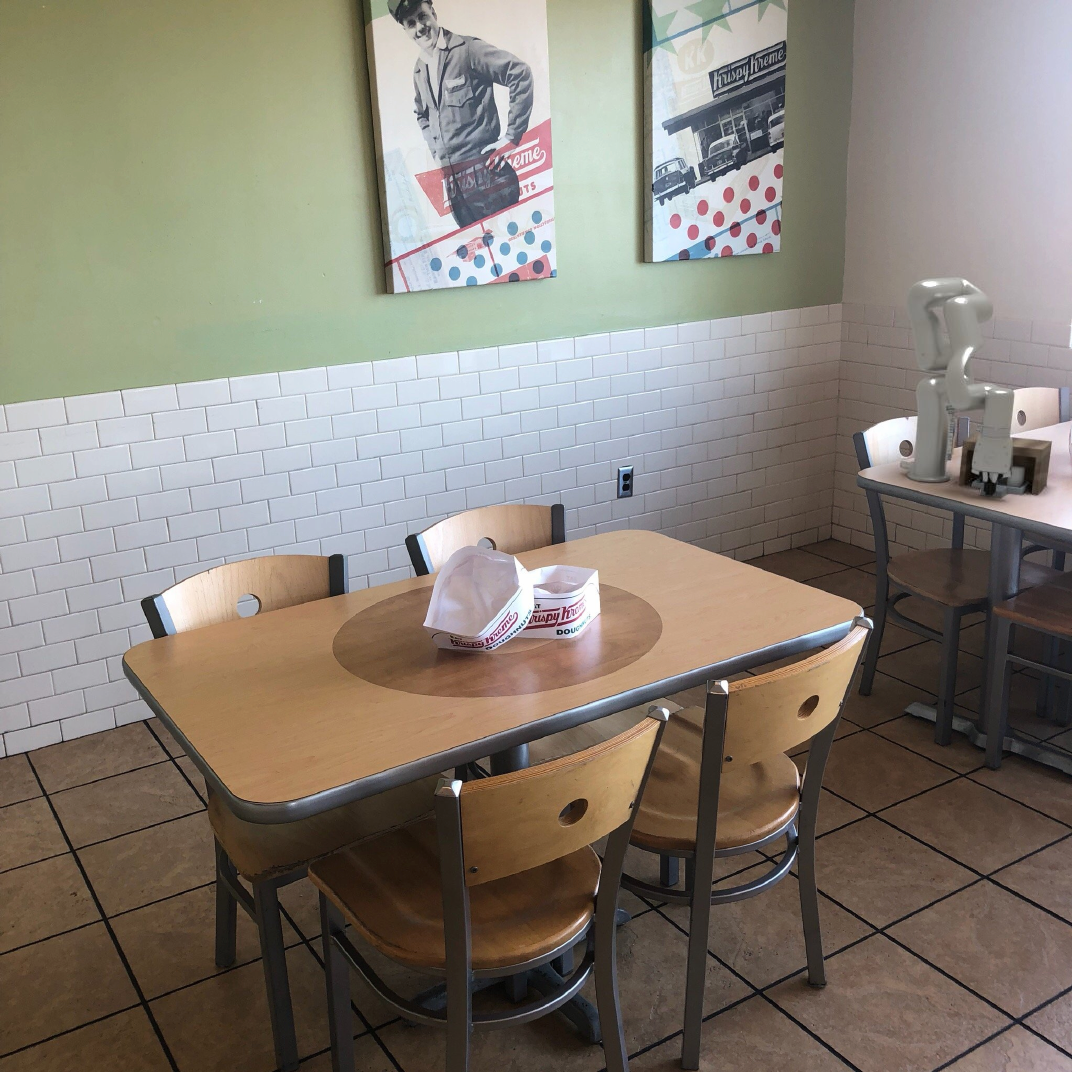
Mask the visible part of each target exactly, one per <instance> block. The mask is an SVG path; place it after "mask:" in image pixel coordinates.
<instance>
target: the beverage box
mask: <svg viewBox="0 0 1072 1072" xmlns="http://www.w3.org/2000/svg"><path fill="white" fill-rule="evenodd" d="M946 410H947V413H948V415H949V417H950V434H949V444H948V455H947V461H952V458H953V454H954V449H955V438H956V430H957V429H956V427H957V420H958V419H957V418H958V411H957V410H955V409H954V408H953V407H952V405H951V406H946Z"/></svg>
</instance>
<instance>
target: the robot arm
mask: <svg viewBox="0 0 1072 1072" xmlns="http://www.w3.org/2000/svg"><path fill="white" fill-rule="evenodd" d="M905 308H906V309H905V310H906V313H907V316H908V319H909V322H910V325H911V330H912V337H913V345H914V351H915V356H916V362H917V366H918V368H919V369H920V370H921V371H924V372H939V371H945V374H935V375H930V376H927V377H925V378H922V379H921V380H920V381H919V382H918V384H917V386H916V390H915V397H916V404H917V420H916V432H915V433H916V434H915V443H914V457H913V460H912V461H909V462H908V461H906V460H901V461H900V463H899V467H900V468H901V469H904V470H909V471H907V478H909V479H910V480H914V481H917V482H924V483H943V482H948V481H950V480H951V479H952V476H951V474H950V473H949V472H947V464H948V460H947V455H948V444H949V434H950V417H949V415H948V413H947V410H946V406H951V405H952V407H953V408H954V409H955V410H957V412H960V413H961V412H962V413H964V412H965V413H966V412H972V411H973V412H974V411H983V413H982V422H981V423H982V424H981V425H978V426H976V432H979V434H981V435H979V436H978V438H977V441H976V445H975V449H974V455H973V461H972V472H973V473H975V474H979V475H980V476H981V477H982V479H983V481H984V492H985V495H989V496H988V497H991V496H992V495H993V494H994V493H995V492H996V485H997V481H998V480H999V479H1001V478H1003V477H1010V476H1012V471H1011V469H1012V465H1013V440H1012V437H1013V436H1011V432H1012V431H1011V430H1012V421H1013V414H1014V413H1013V411H1014V403H1015V392H1014V390H1013V389H1011V388H1007V387H1000V386H998V385H996V384H994V383H991V382H983V383H982V382H981V383H975V379H974V372H973V366H972V364H973V363H972V356H975V354H977V353H979V352H981V351H982V349H983V348H984V340H983V336H982V333H981V329H980V324H984V323H987V322H989V321H990V319H991V318H992V317H993V314H994V305H993V302H992V300H991V298H990V297H989V296H988V295H987V294H986V293H985V292H984V291H983V290H982V289H980V288H979V287H976V286H975V285H974V284H972V283H971V282H970V281H969V280H967V279H965V278H962V277H958V276H955V277H939V278H936V277H935V278H927V279H923V280H920V281H917V282H915V283H914V284H913V285H911V287H910V289H908V292H907V295H906V299H905ZM934 308H943V310H942V311H943V312H942V313H943V318H944V322H945V326H946V330H947V333H948V337H945V335H944V331H943V330H944V328H943V324H942V321H941V319H940V318H939V316H938V314H936V312H935V311H934ZM990 473H994V474H993V478H992V480H991V479H990Z"/></svg>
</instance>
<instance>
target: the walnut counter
mask: <svg viewBox="0 0 1072 1072" xmlns="http://www.w3.org/2000/svg"><path fill="white" fill-rule="evenodd" d="M979 435H981V433H976V432H975V433H972V434H971V435H969V436H968V437H967V438H965V439H964V440H962V445H961V447H962V448H961V454H960V455H961V456H960V457H961V458H960V465H959V466H960V467H959V475H958V476H959V477H958V486H963V485H964V486H965V485H966V484H968V483H969V482H970V481H971V480H973V479H977V478H978V477H980V475H979V474H975V473H973V472H972V461H973V455H974V449H975V445H976V441H977V438H978V436H979ZM1011 437H1012V440H1013V465H1022V466H1025V474H1024V480H1025V481H1031V484H1030V486H1032V490H1031V495H1032V496H1038V495H1039V494H1040V493H1041V492H1042V491H1043V490H1044V489H1045V488H1046V487H1047V483H1048V478H1049V477H1048V475H1049V468H1050V460H1051V459H1050V458H1051V451H1052V443H1053V441H1052V440H1051V441H1050V440H1044V439H1043V440H1042V439H1033V438H1023V437H1013V436H1011ZM1003 478H1008V477H1003ZM969 480H970V481H969ZM967 482H968V483H967ZM1044 487H1045V488H1044Z"/></svg>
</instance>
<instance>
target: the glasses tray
mask: <svg viewBox="0 0 1072 1072" xmlns="http://www.w3.org/2000/svg"><path fill="white" fill-rule="evenodd" d="M1011 471H1012V476H1010V477H1008V478H1001V479H999V480H998V481H997V485H996V492H995V493H994V494H993V495H992V496H989V495H985V492H984V481H983V479H982V477H981V476H980V477H978V478H975V480H974V481H972V483H971V489H972V488H975V489H974V490H980V489H981V490H980V492H979V493H980V494H979V496H983V495H984V496H985V497H991V498H992V497H993V498H999V499H1003V498H1004V497H1005V496H1006V495H1007V494H1010V495H1012V494H1013V495H1019V496H1022V495H1024V493H1025V492H1026V491H1028V489H1030V488H1031V485H1030V484H1031V481H1025V480H1024V474H1025V466H1022V465H1012V469H1011ZM993 474H994V473H990V479H991V480H992V478H993Z"/></svg>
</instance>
